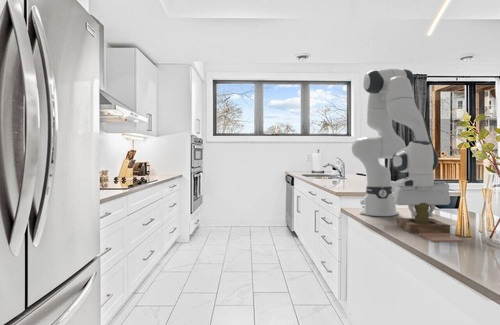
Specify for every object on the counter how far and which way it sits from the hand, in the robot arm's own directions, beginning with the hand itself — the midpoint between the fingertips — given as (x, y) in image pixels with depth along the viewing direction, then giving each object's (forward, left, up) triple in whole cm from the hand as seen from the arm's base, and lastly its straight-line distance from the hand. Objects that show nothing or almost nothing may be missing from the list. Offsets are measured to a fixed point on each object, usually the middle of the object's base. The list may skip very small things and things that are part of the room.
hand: (421, 216), depth 125 cm
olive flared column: (0, 0, -5) cm, 5 cm away
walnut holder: (0, 0, -5) cm, 5 cm away
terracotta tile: (+14, 0, -5) cm, 15 cm away
